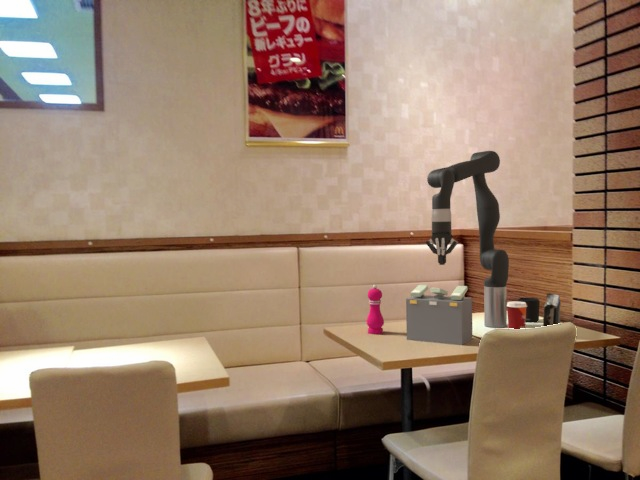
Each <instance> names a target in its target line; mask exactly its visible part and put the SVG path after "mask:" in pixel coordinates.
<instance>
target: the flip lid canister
mask: <svg viewBox="0 0 640 480" xmlns="http://www.w3.org/2000/svg"><path fill="white" fill-rule="evenodd" d="M506 306H507V325H508V326H507V327H508V329H509V328H514V329H520V328H525V329H526V323H527V322H526V307H527V305H526V303H525V302H519V301H518V300H517V301H507V305H506Z"/></svg>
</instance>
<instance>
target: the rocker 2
mask: <svg viewBox="0 0 640 480" xmlns="http://www.w3.org/2000/svg"><path fill="white" fill-rule="evenodd" d="M429 290H430V291H429V293H431V294H434V295H444V296H448V291H447V290H445V289H443V288H440V287H430V289H429Z"/></svg>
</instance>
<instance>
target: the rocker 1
mask: <svg viewBox="0 0 640 480" xmlns="http://www.w3.org/2000/svg"><path fill="white" fill-rule="evenodd" d="M428 290H429V285H428V284H418V285H417V286H416V287H415V288H414V289H413V290H411V291H410V297H421V296H422V295H423V294H424V295H425V293H426V292H427V291H428Z"/></svg>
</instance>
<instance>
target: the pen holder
mask: <svg viewBox="0 0 640 480" xmlns="http://www.w3.org/2000/svg"><path fill="white" fill-rule="evenodd" d="M517 301H519V302H525V303H526V305H527V307H526V323H527V322H534V323H538V322H539V321H540V303H541V302H540V301H541V300H540V299H539V298H537V297H519V298H518V299H517ZM537 321H538V322H537Z"/></svg>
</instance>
